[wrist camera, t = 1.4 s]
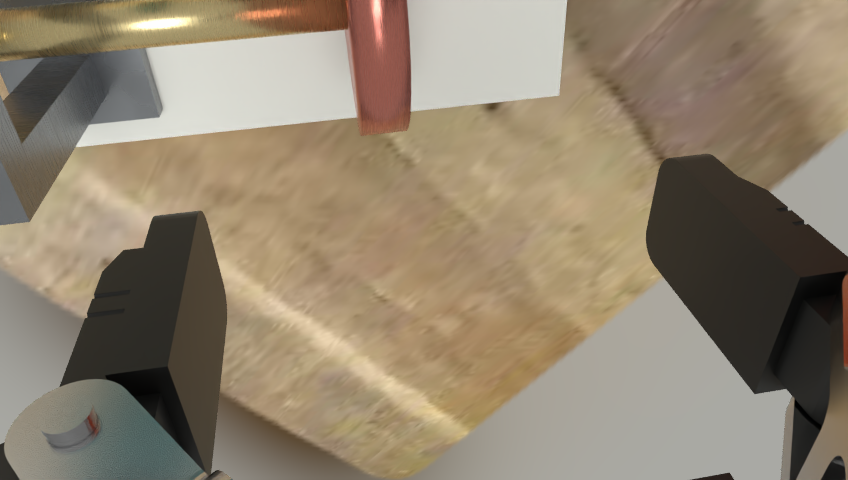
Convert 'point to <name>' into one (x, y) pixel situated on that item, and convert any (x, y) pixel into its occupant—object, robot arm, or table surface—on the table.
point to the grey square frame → (62, 113)
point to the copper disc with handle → (232, 37)
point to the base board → (330, 73)
